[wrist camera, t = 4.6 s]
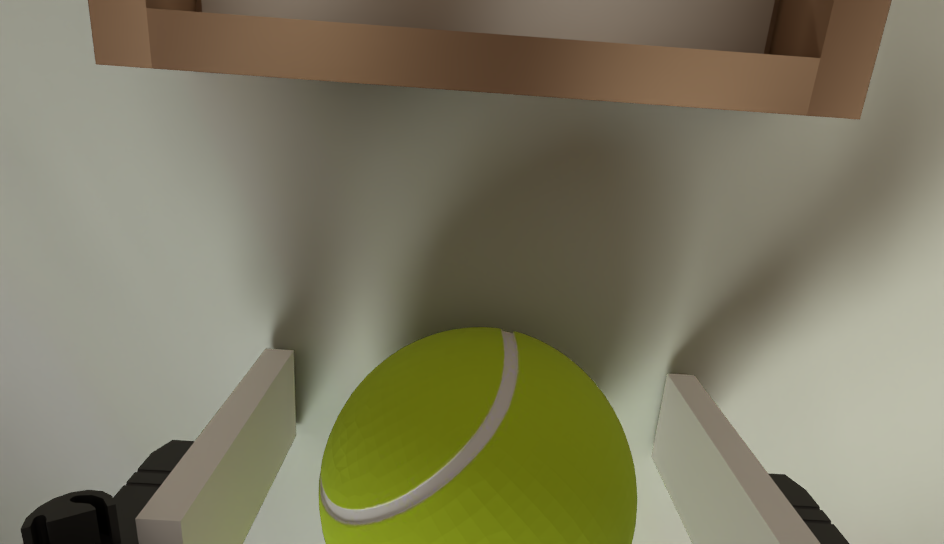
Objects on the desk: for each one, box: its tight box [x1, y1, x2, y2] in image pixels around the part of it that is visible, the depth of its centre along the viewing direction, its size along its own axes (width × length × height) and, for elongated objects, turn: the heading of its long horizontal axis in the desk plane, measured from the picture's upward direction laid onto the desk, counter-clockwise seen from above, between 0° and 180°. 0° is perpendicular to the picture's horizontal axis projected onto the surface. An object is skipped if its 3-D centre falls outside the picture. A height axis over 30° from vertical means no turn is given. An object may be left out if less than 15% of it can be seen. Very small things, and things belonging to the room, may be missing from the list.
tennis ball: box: [319, 327, 637, 544], centre depth 13 cm, size 7×7×7 cm
